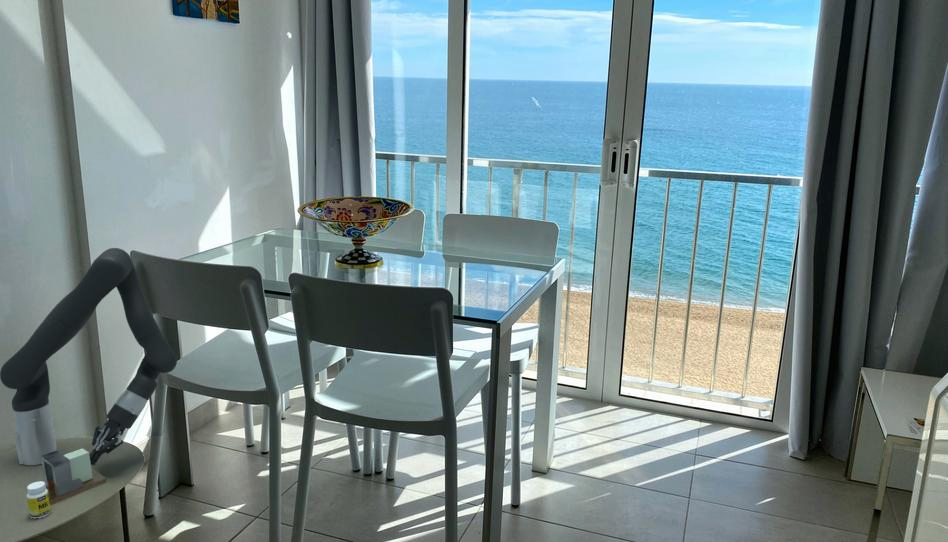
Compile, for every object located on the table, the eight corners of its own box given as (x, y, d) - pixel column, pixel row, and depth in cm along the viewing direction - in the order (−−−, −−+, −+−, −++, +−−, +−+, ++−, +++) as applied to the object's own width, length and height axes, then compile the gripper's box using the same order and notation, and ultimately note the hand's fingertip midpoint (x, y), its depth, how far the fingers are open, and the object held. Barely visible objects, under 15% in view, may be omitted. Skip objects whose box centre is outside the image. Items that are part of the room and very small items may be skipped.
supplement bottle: (41, 520, 181) (36, 491, 179) (25, 518, 182) (20, 489, 180) (55, 510, 185) (50, 481, 183) (40, 508, 186) (35, 479, 184)
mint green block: (86, 473, 201) (82, 448, 199) (92, 478, 198) (88, 452, 196) (56, 485, 194) (52, 459, 193) (62, 490, 192) (58, 463, 190)
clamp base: (92, 472, 204) (87, 439, 202) (106, 482, 199) (101, 448, 196) (35, 494, 193) (29, 459, 190) (48, 505, 187) (42, 469, 185)
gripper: (106, 397, 207) (68, 451, 200) (128, 409, 199) (89, 465, 192) (126, 408, 212) (90, 461, 206) (148, 419, 204) (111, 475, 198)
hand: (89, 463), depth 199 cm, fingers closed
